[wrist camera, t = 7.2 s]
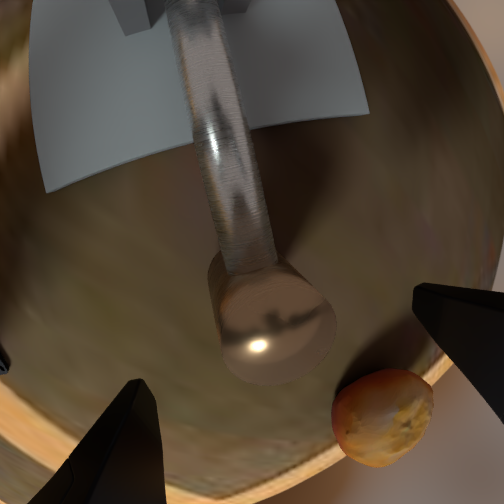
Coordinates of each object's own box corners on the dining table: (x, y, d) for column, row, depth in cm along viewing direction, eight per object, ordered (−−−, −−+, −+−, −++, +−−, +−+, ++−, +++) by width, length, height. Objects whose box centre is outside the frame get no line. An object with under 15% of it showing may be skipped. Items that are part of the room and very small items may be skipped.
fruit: (319, 454, 19) (360, 496, 12) (307, 378, 21) (352, 401, 13) (394, 423, 21) (447, 445, 13) (386, 351, 22) (447, 356, 15)
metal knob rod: (290, 299, 14) (338, 362, 9) (219, 320, 13) (238, 397, 8) (211, -36, 8) (227, -102, 3) (139, -23, 7) (126, -88, 2)
